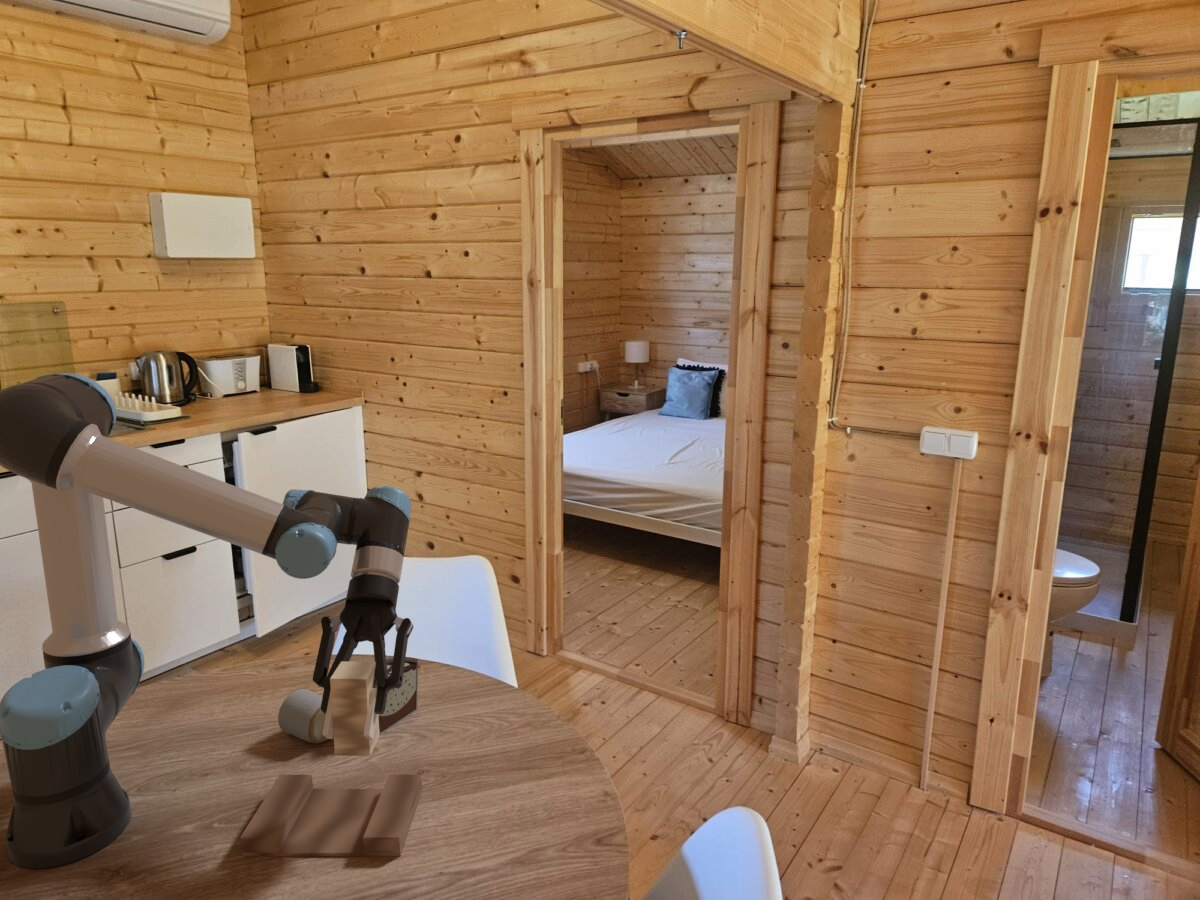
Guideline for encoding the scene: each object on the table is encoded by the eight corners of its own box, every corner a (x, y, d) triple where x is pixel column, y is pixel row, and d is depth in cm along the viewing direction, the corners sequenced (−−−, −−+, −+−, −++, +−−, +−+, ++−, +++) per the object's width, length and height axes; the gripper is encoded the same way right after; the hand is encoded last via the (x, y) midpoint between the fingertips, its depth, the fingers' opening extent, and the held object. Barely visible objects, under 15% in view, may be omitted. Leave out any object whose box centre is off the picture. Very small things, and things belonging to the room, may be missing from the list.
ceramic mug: (312, 753, 136) (309, 712, 134) (278, 740, 139) (275, 699, 138) (358, 724, 145) (356, 684, 143) (326, 712, 149) (323, 673, 147)
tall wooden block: (334, 755, 115) (329, 678, 112) (345, 735, 120) (341, 661, 117) (370, 755, 115) (366, 679, 112) (379, 735, 120) (375, 661, 117)
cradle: (242, 856, 112) (240, 837, 112) (281, 791, 126) (279, 774, 125) (400, 855, 112) (399, 837, 112) (422, 791, 126) (421, 774, 125)
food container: (398, 697, 153) (395, 649, 151) (422, 706, 150) (420, 657, 148) (348, 729, 143) (344, 678, 140) (373, 739, 140) (369, 687, 137)
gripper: (437, 591, 128) (417, 744, 116) (323, 589, 128) (291, 742, 116) (429, 572, 122) (407, 731, 109) (309, 570, 122) (274, 729, 109)
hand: (348, 736), depth 113 cm, fingers closed on tall wooden block, 5 cm apart
